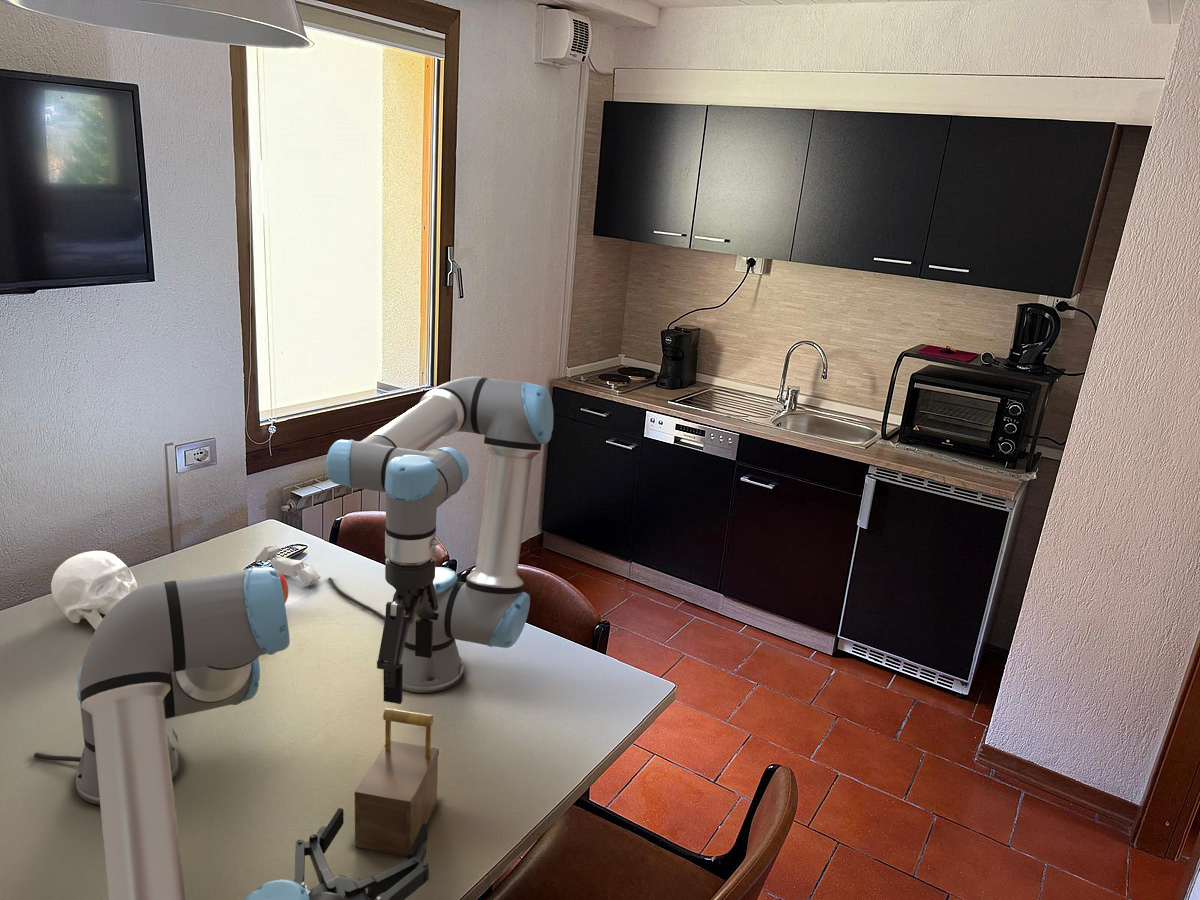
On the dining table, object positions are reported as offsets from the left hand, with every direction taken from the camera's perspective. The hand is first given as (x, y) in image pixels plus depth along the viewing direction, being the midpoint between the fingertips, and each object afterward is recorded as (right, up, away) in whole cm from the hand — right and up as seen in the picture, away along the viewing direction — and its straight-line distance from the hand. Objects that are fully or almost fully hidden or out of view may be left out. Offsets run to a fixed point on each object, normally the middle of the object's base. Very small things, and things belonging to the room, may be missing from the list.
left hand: (383, 822), depth 132 cm
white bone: (-47, +25, +89) cm, 103 cm away
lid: (+1, +5, +6) cm, 8 cm away
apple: (-45, +19, +69) cm, 84 cm away
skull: (-79, +19, +61) cm, 102 cm away
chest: (0, -4, +8) cm, 9 cm away
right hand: (+3, +21, +5) cm, 22 cm away
